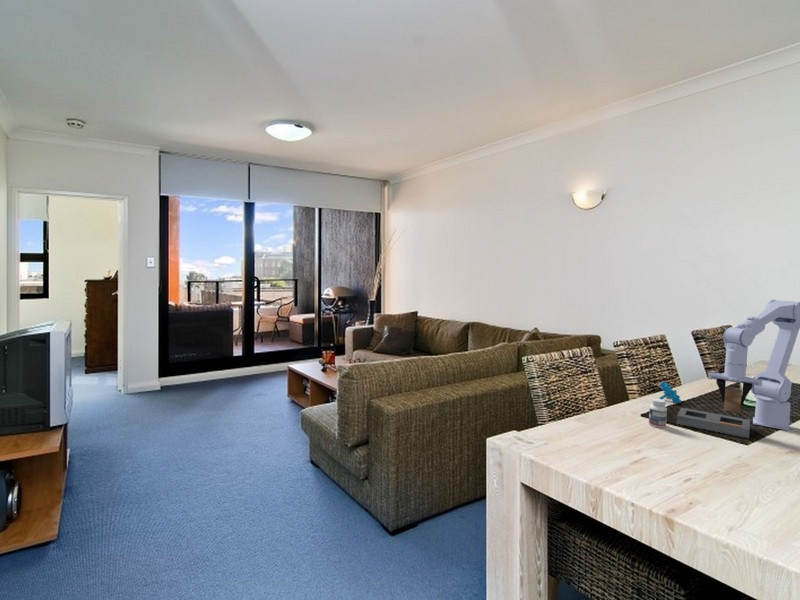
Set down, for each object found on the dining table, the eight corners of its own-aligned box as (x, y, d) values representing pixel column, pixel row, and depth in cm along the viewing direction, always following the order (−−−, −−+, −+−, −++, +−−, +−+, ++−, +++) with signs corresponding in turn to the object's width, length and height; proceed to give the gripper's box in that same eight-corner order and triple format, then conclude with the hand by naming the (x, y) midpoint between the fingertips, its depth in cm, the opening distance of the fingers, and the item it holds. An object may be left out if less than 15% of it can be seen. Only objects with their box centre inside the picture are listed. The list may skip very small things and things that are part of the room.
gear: (675, 402, 176) (658, 380, 182) (662, 410, 180) (646, 388, 185) (687, 401, 183) (670, 380, 189) (674, 409, 186) (658, 388, 192)
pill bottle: (650, 421, 158) (651, 396, 158) (667, 425, 155) (668, 400, 154) (647, 425, 154) (648, 400, 153) (664, 429, 151) (666, 403, 150)
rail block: (749, 428, 153) (749, 419, 153) (748, 438, 144) (749, 428, 144) (680, 415, 166) (681, 406, 165) (676, 424, 156) (677, 415, 156)
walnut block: (740, 409, 151) (742, 389, 151) (740, 412, 148) (741, 392, 147) (724, 406, 154) (725, 386, 154) (723, 409, 151) (725, 389, 150)
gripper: (708, 362, 151) (705, 401, 152) (763, 368, 142) (760, 410, 143) (710, 358, 157) (707, 396, 158) (763, 365, 148) (759, 405, 149)
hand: (732, 403), depth 151 cm, fingers closed on walnut block, 4 cm apart
